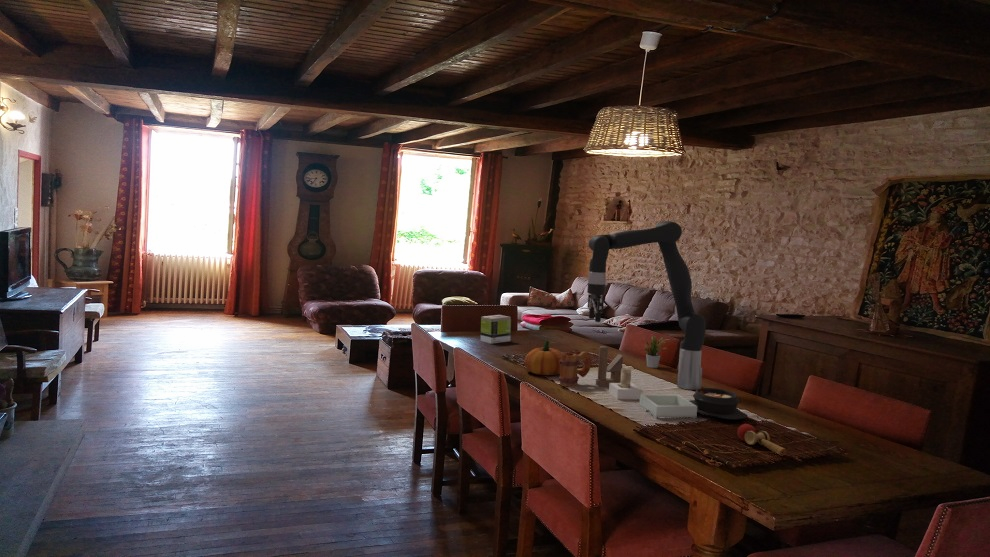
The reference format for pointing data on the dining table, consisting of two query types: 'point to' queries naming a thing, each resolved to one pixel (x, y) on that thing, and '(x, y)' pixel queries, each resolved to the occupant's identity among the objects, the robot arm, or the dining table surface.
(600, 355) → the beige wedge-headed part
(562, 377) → the mug
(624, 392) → the holder
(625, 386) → the dowel
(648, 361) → the house plant
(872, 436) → the dining table surface
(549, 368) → the pumpkin
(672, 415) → the tray
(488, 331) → the tea box
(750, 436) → the kendama
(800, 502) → the dining table surface
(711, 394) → the casserole
